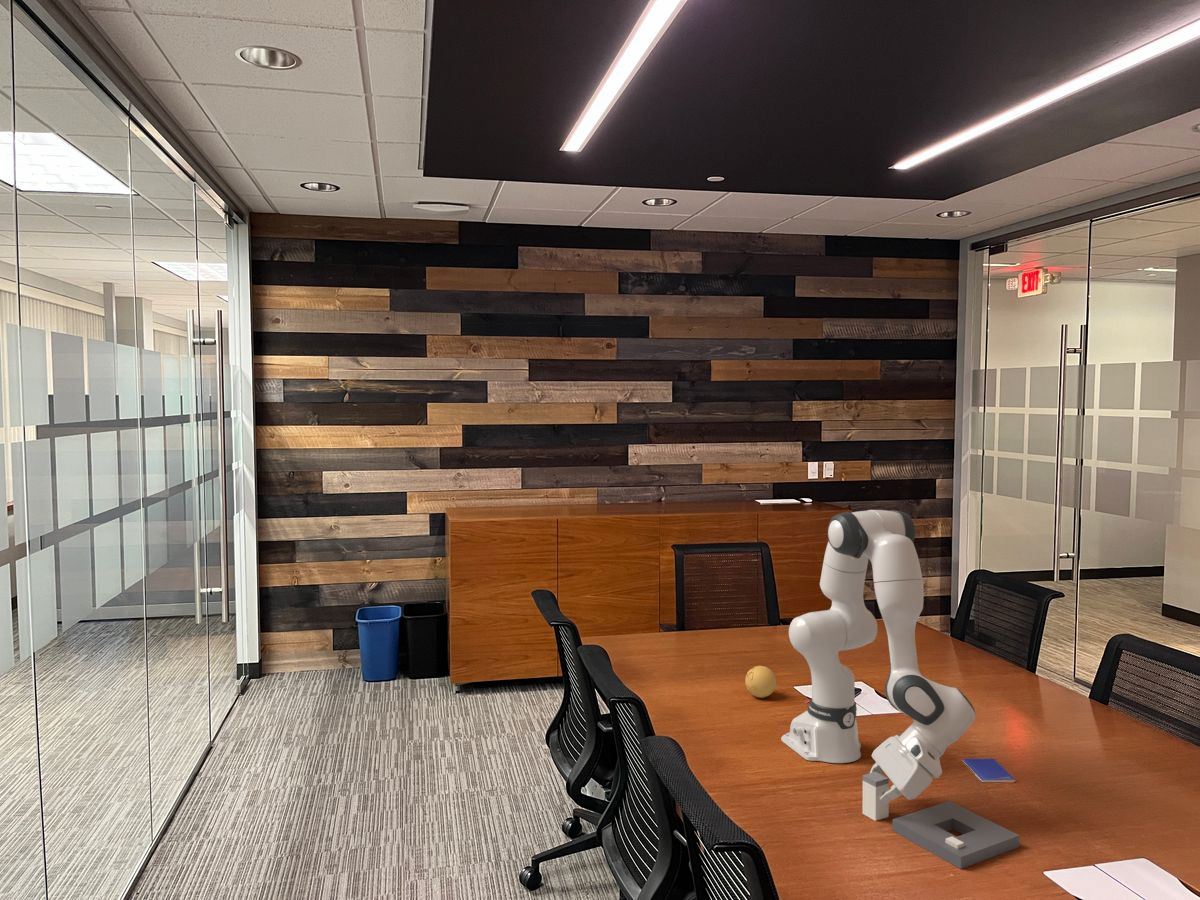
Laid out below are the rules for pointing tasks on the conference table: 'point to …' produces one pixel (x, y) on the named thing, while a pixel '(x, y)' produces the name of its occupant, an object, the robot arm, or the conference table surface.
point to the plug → (875, 796)
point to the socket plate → (962, 850)
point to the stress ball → (760, 681)
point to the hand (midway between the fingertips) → (874, 791)
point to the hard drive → (988, 770)
